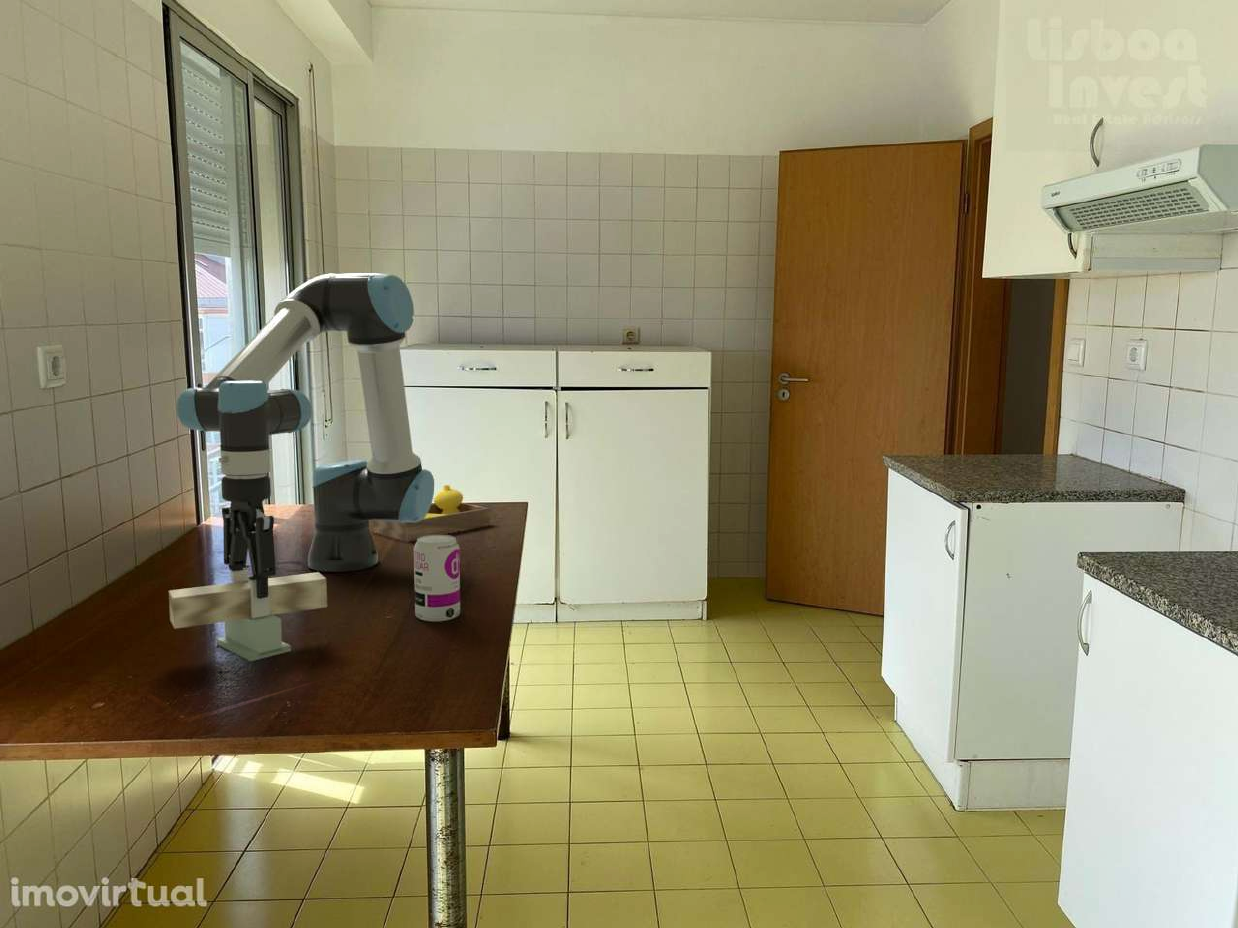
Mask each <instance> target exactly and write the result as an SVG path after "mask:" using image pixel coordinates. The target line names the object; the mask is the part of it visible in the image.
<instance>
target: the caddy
mask: <svg viewBox="0 0 1238 928" xmlns="http://www.w3.org/2000/svg"><path fill="white" fill-rule="evenodd" d="M457 508H458V509H459V510H460V511H461V512H459V513H453V514H447V515H442V516H436V517H430V518H424V519H422V520H420V521H418V522H405V523H400V522H389V521H374V520H370V533H371V532H374V533H373V534H375V533H378V534H377V535H379V534H381V535H380V536H382V535H384V536H383V537H386V536H387V538H390V537H391V539H393V538H395V539H394V540H397V539H399V540H398V541H401V542H404V541H405V543H410V542H411V541H412V542H415V541H416V542H417V539H418V538H420V537H423V536H428V535H444V534H445V535H449V534H448V533H450V534H454V533H453V532H455V533H458V532H457V531H460V532H464V531H470V530H472V529H473V530H474V529H478V528H483V527H488V526H490V520H491V519H490V508H489V507H485V506H481V505H474V504H470V503H466V502H465V503H464V502H461V504H460V505H459V506H458V507H457ZM442 511H443V509H440V508H439V507H438V506H436V504H435V503H434V502H433V503H431V506H430V509H429V511H428V513H427V514H441V513H442Z"/></svg>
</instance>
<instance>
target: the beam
mask: <svg viewBox="0 0 1238 928" xmlns="http://www.w3.org/2000/svg"><path fill="white" fill-rule="evenodd" d="M327 587H328V586H327V578H326V576H324V575H323V574H321V573H320V571H317V572H309V573H302V574H301V573H299V574H293V575H285V576H278V577H268V591H269V615H281V614H286V613H287V614H288V613H295V612H302V611H308V610H315V609H323V608H328V593H327V592H328V591H327ZM168 601H169V620H170V621H169V622H170V623H171V624H172V626H173V628H174V630H176V629H182V628H189V627H195V626H197V627H198V626H204V625H209V624H210V625H211V624H215V623H225V621H232V620H239V619H246V618H252V617H251V589H250V580H249V581H243V582H235V583H232V582H228V583H221V584H220V583H219V584H213V585H205V586H196V587H190V588H189V587H187V588H180V589H179V588H178V589H172V590H168Z"/></svg>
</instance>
